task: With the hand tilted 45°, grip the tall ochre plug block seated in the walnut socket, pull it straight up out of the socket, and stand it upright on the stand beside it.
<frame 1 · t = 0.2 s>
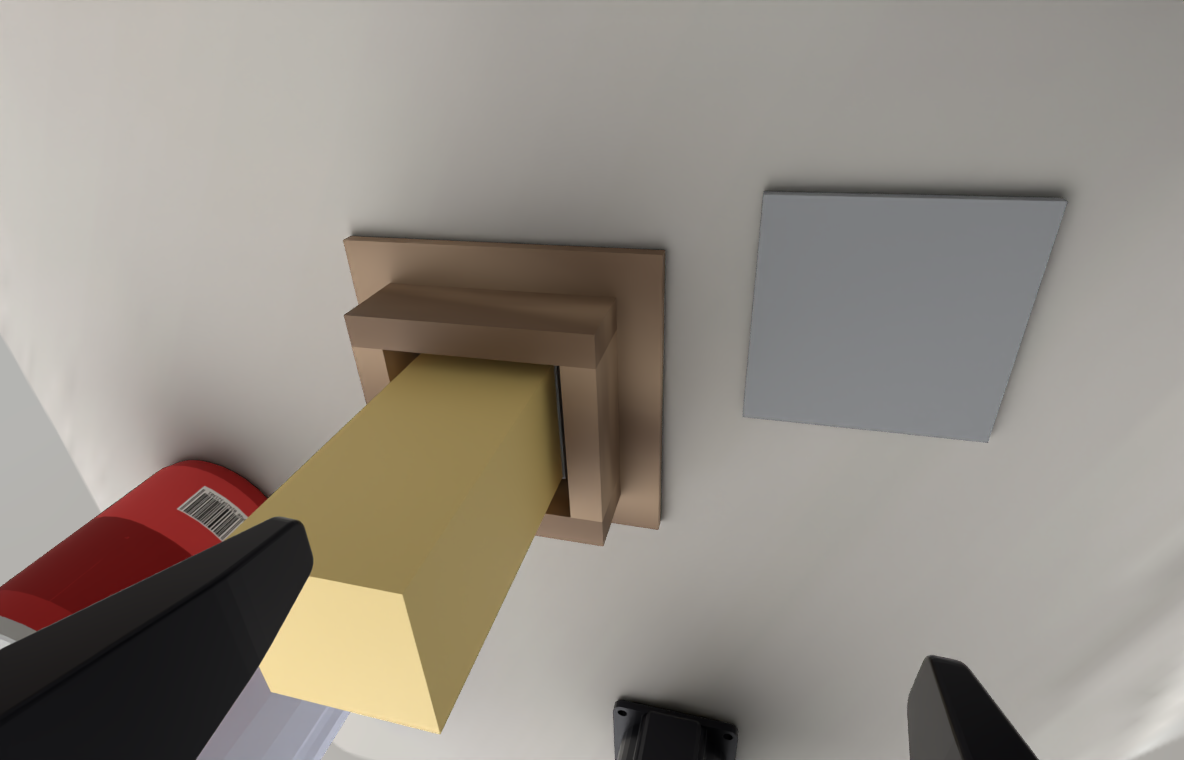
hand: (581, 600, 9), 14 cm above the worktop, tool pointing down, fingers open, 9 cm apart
socket: (514, 387, 26), on the worktop
stand: (879, 319, 20), on the worktop
soap bottle: (303, 654, 41), on the worktop
canned food: (229, 509, 35), on the worktop
plug: (510, 393, 25), resting on socket
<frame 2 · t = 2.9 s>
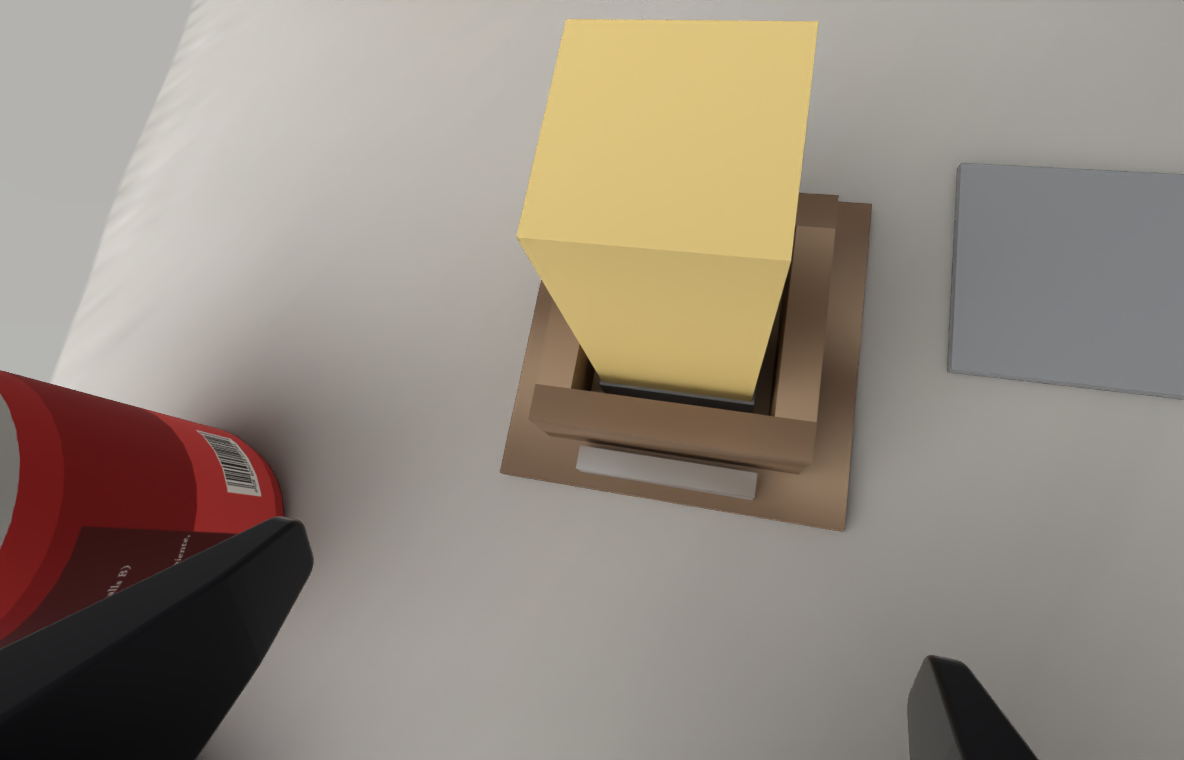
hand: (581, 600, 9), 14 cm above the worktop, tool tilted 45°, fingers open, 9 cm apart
socket: (687, 341, 24), on the worktop
stand: (1077, 276, 22), on the worktop
canned food: (205, 525, 26), on the worktop
plug: (686, 337, 23), resting on socket
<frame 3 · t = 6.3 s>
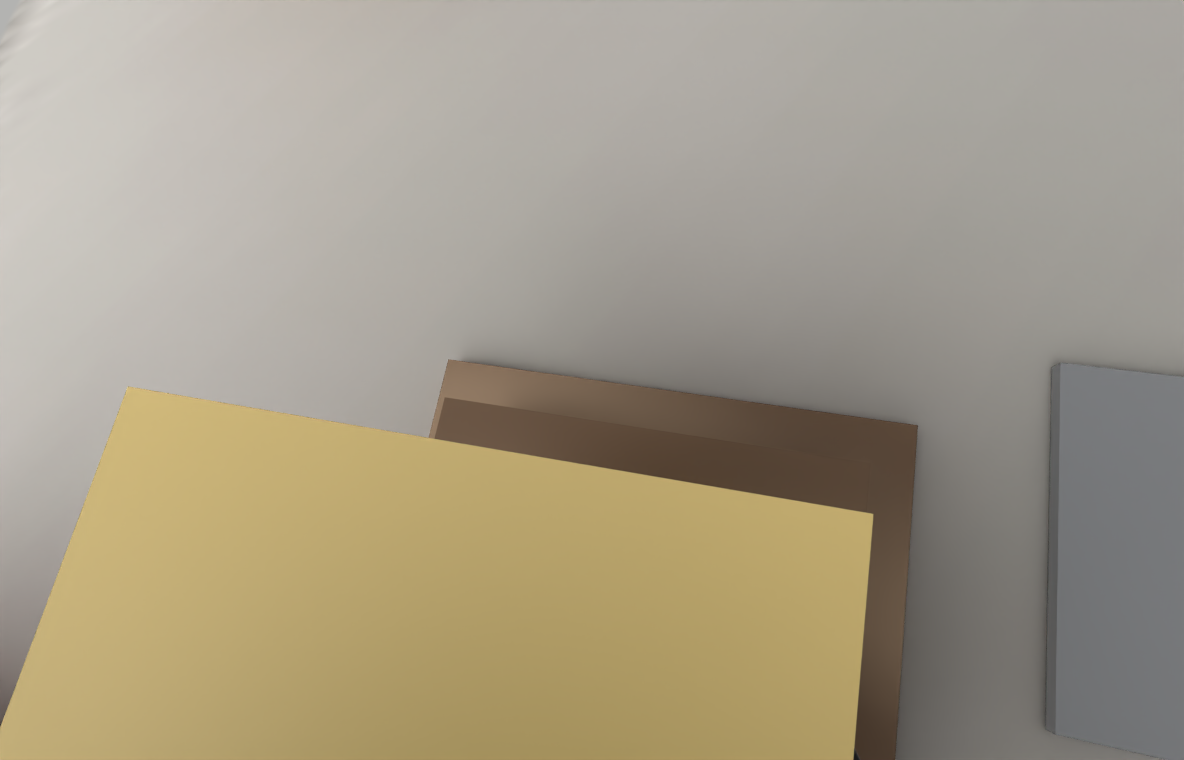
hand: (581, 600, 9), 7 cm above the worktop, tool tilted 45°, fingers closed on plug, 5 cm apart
socket: (625, 634, 15), on the worktop
plug: (623, 636, 15), point 1 cm above the worktop, touching gripper, socket
when the fingers open (8 cm above the worktop, at t = 10.4 s): plug drops 1 cm, resting on stand.
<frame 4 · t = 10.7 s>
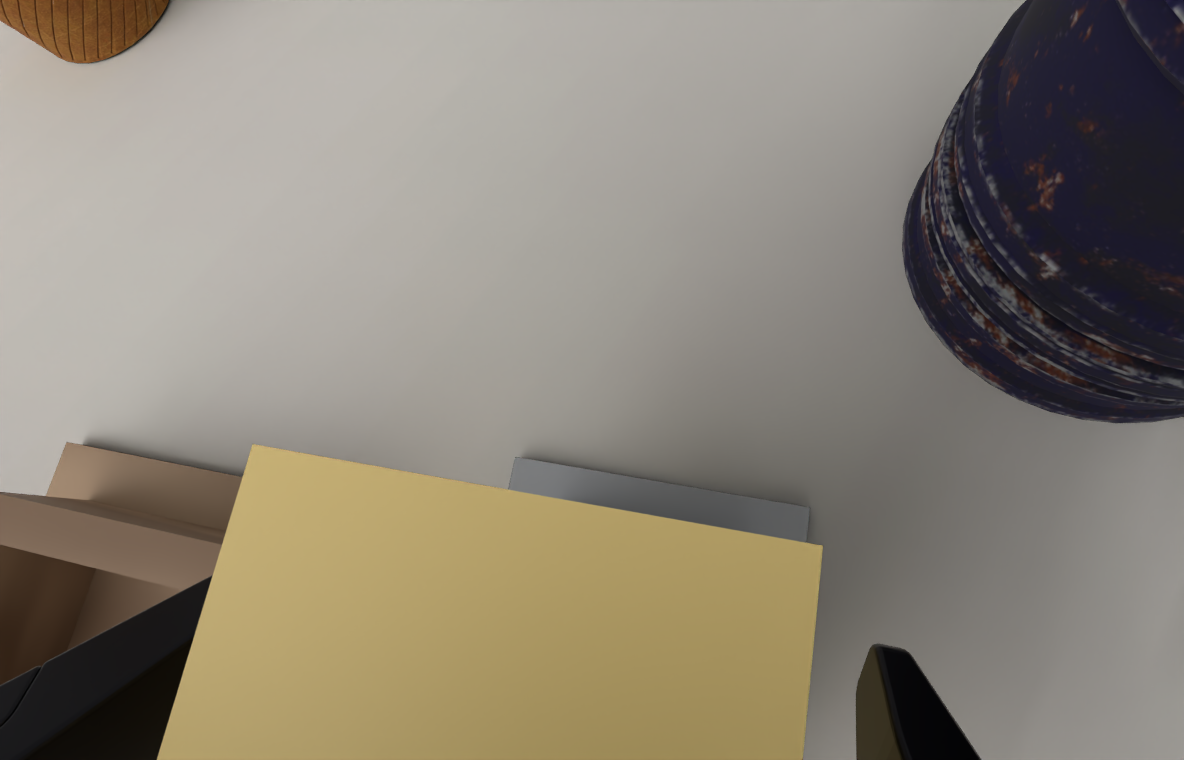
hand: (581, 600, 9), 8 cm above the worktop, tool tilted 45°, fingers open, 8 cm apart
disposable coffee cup: (113, 5, 27), on the worktop
socket: (167, 680, 18), on the worktop
stand: (631, 635, 16), on the worktop
storage jar: (1089, 251, 17), on the worktop
plug: (630, 630, 16), resting on stand
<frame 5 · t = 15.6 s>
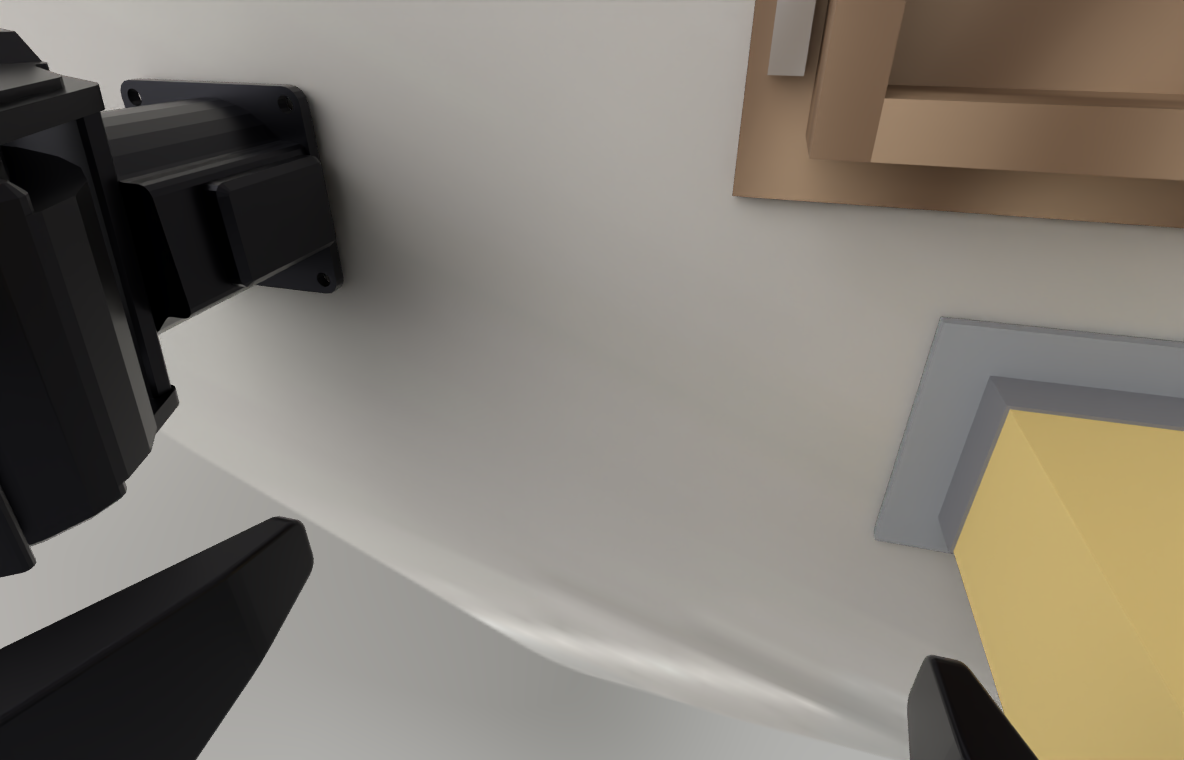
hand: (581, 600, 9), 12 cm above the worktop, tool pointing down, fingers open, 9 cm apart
stand: (1049, 456, 19), on the worktop
plug: (1060, 465, 18), resting on stand
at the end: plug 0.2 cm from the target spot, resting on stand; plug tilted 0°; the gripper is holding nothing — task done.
